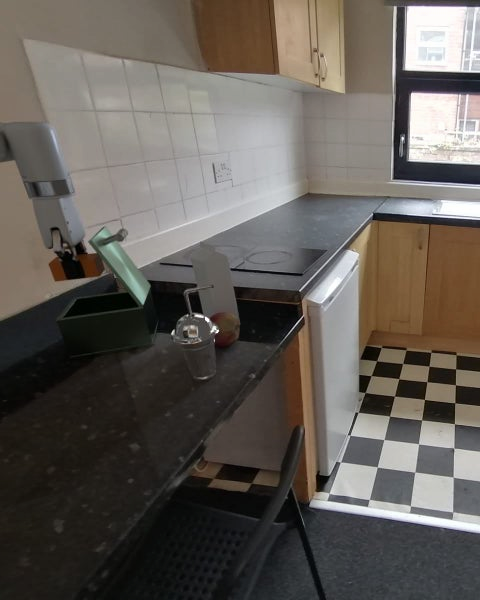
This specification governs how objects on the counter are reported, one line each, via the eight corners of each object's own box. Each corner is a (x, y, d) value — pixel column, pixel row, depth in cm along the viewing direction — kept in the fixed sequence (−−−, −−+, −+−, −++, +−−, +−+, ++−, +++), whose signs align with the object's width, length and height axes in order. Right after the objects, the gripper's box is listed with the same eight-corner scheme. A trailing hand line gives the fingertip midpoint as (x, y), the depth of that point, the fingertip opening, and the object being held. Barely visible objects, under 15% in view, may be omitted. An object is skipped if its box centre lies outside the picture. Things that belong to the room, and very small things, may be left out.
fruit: (226, 356, 90) (219, 325, 86) (200, 350, 92) (192, 319, 89) (250, 340, 96) (245, 310, 93) (225, 334, 99) (219, 305, 96)
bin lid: (87, 241, 81) (112, 231, 82) (102, 227, 92) (124, 218, 93) (139, 307, 90) (161, 296, 91) (147, 287, 100) (167, 278, 101)
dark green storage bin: (71, 360, 88) (55, 320, 84) (86, 334, 99) (73, 297, 95) (153, 346, 94) (142, 307, 90) (159, 323, 105) (149, 287, 101)
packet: (54, 281, 84) (48, 263, 83) (62, 274, 88) (56, 256, 87) (100, 276, 87) (94, 259, 85) (105, 269, 91) (100, 252, 90)
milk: (227, 319, 107) (211, 238, 98) (240, 325, 104) (226, 242, 95) (205, 328, 102) (187, 243, 93) (219, 334, 99) (201, 248, 90)
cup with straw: (205, 360, 88) (185, 275, 80) (237, 368, 85) (221, 281, 77) (172, 381, 81) (147, 290, 73) (207, 391, 78) (184, 297, 70)
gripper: (43, 184, 86) (71, 264, 94) (8, 197, 72) (45, 291, 79) (85, 182, 89) (109, 260, 96) (59, 194, 74) (90, 285, 82)
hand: (80, 273), depth 88 cm, fingers closed on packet, 5 cm apart
